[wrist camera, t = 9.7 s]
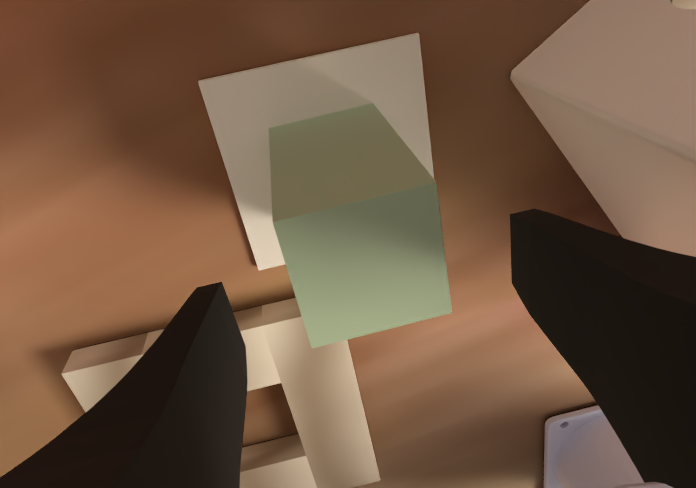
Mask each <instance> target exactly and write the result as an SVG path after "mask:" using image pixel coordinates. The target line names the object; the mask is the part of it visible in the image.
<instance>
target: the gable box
mask: <svg viewBox="0 0 696 488" xmlns="http://www.w3.org/2000/svg"><path fill="white" fill-rule="evenodd" d="M510 80H511V81H512V83H513V84H514V85H515V87H516V88H517V90H518V91H519V92H520V94H521V95H522V97H523V98H524V100H525V101H526V102H527V104H528V105H529V107H530V108H531V109H532V111H533V112H534V114H535V115H536V116H537V118H538V119H539V121H540V122H541V123H542V125H543V126H544V128H545V129H546V131H547V132H548V133H549V135H550V136H551V138H552V139H553V140H554V142H555V143H556V145H557V146H558V147H559V149H560V150H561V152H562V153H563V154H564V156H565V157H566V159H567V160H568V161H569V163H570V164H571V166H572V167H573V169H574V170H575V171H576V173H577V174H578V176H579V177H580V178H581V180H582V181H583V183H584V184H585V185H586V187H587V188H588V190H589V191H590V192H591V194H592V195H593V197H594V198H595V200H596V201H597V202H598V204H599V205H600V207H601V208H602V209H603V211H604V212H605V214H606V215H607V216H608V218H609V219H610V221H611V222H612V223H613V225H614V226H615V228H616V229H617V231H618V232H619V233H620V235H621V236H622V238H624V239H627V240H631V241H634V242H638V243H641V244H645V245H648V246H652V247H655V248H659V249H663V250H667V251H671V252H675V253H680V254H685V255H689V256H694V257H696V0H590V1H589V2H587V3H586V4H585V5H584V6H583V7H582V8H581V9H580V10H579V11H577V12H576V13H575V14H574V15H573V16H572V17H571V18H570V19H569V20H567V21H566V22H565V23H564V24H563V25H562V26H561V27H560V28H559V29H557V30H556V31H555V32H554V33H553V34H552V35H551V36H550V37H548V38H547V39H546V40H545V41H544V42H543V43H542V44H541V45H540V46H538V47H537V48H536V49H535V50H534V51H533V52H532V53H531V54H530V55H528V56H527V57H526V58H525V59H524V60H523V61H522V62H521V63H520V64H518V65H517V66H516V67H515V68H514V69H513V70H512V71H511V77H510Z"/></svg>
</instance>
